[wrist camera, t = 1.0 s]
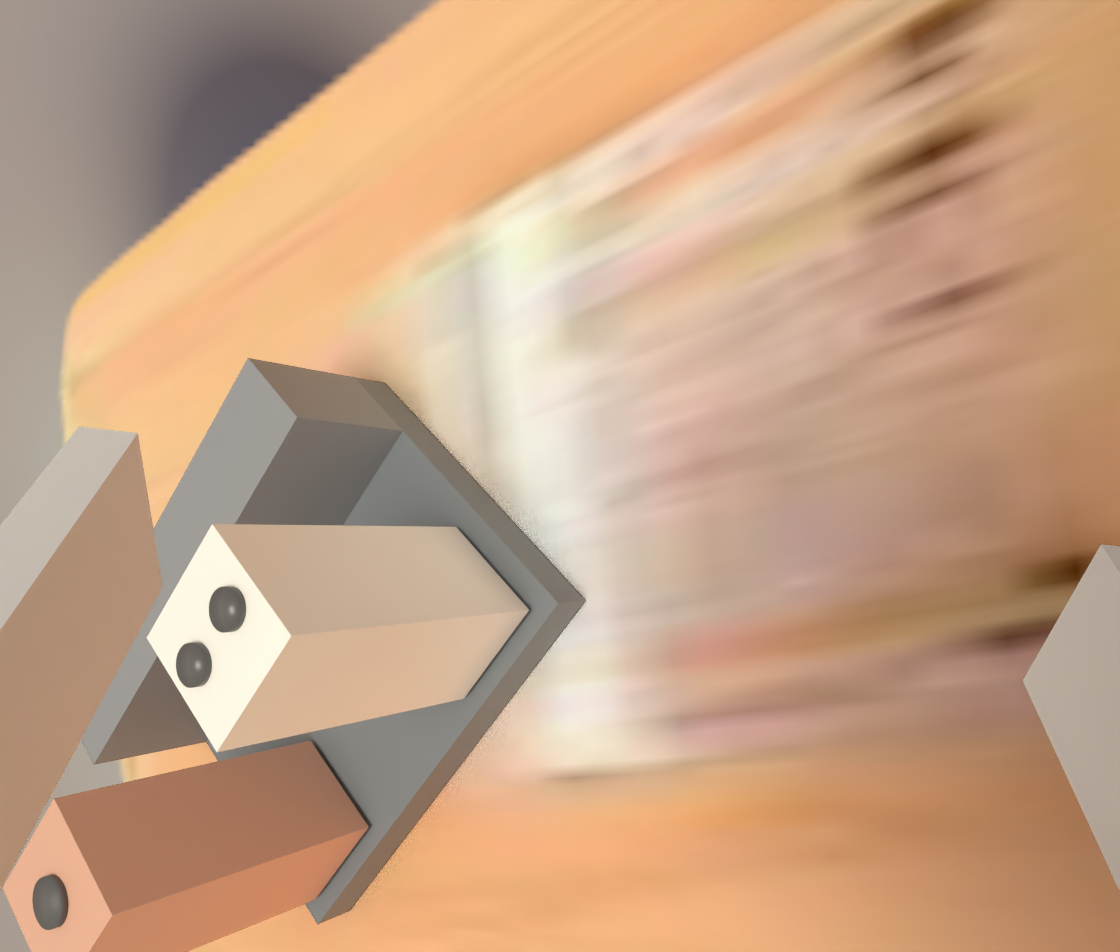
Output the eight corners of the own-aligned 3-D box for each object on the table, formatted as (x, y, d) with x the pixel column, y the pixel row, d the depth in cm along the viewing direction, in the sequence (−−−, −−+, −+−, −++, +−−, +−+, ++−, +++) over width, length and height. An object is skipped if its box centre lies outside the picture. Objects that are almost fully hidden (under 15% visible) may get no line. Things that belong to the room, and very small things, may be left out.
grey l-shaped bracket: (585, 600, 40) (460, 613, 33) (349, 910, 46) (205, 973, 40) (385, 383, 47) (247, 357, 40) (203, 679, 53) (59, 699, 47)
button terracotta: (368, 826, 43) (103, 918, 33) (315, 899, 44) (46, 1008, 34) (310, 740, 45) (45, 800, 35) (261, 812, 47) (-6, 889, 37)
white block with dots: (529, 609, 39) (283, 636, 28) (463, 698, 40) (208, 753, 30) (456, 526, 41) (203, 523, 31) (396, 613, 43) (138, 638, 32)
